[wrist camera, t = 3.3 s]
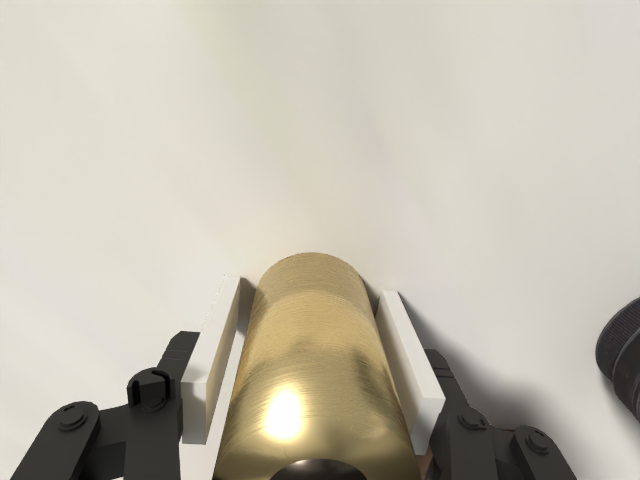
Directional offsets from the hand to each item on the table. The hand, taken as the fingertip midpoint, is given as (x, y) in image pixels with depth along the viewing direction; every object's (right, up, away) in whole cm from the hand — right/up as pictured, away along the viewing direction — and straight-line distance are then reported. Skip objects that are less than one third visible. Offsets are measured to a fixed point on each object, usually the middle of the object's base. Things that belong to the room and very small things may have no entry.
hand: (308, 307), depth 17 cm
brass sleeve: (0, 0, 0) cm, 0 cm away
